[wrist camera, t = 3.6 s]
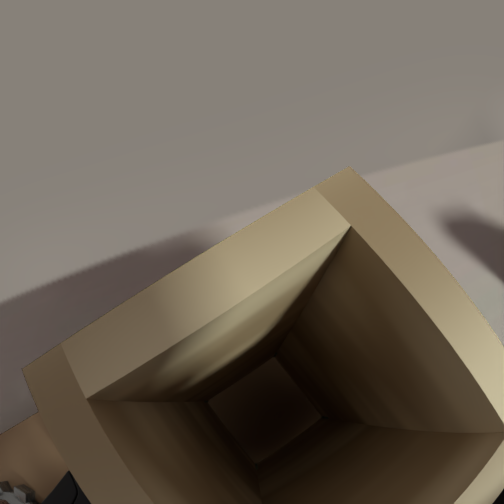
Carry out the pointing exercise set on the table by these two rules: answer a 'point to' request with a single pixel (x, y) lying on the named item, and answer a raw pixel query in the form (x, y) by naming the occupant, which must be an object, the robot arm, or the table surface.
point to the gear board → (224, 404)
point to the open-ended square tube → (288, 369)
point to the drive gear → (16, 494)
